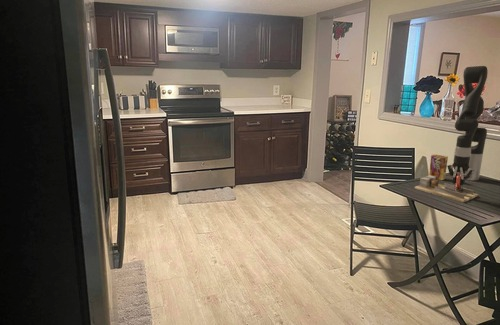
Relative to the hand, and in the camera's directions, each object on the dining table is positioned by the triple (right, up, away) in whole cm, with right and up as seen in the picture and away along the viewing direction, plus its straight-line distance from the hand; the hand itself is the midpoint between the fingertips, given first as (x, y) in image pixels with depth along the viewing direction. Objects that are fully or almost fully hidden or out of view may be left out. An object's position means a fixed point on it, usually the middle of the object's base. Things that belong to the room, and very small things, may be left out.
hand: (458, 184), depth 197 cm
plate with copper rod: (-1, -5, +3) cm, 6 cm away
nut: (-7, -2, +12) cm, 14 cm away
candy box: (+5, +2, +32) cm, 32 cm away
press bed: (-3, -5, +7) cm, 9 cm away
